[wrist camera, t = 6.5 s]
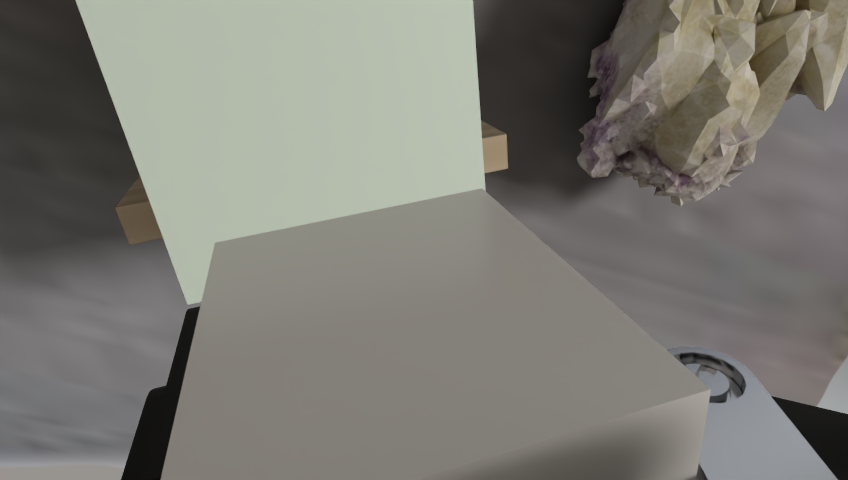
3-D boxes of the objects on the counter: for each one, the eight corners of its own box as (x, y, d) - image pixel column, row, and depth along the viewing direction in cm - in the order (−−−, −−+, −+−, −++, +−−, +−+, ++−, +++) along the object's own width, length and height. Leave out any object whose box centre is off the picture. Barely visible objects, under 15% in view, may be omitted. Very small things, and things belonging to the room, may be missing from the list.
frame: (54, -123, 20) (-86, -206, 12) (431, -152, 23) (516, -234, 15) (165, 191, 26) (118, 274, 18) (457, 137, 29) (528, 188, 21)
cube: (214, 242, 9) (141, 563, 4) (481, 188, 10) (710, 389, 5) (280, 447, 11) (288, 830, 6) (494, 387, 12) (663, 674, 7)
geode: (735, -53, 34) (556, -122, 27) (924, -141, 26) (735, -272, 19) (728, 208, 35) (552, 205, 28) (910, 205, 26) (722, 199, 20)
